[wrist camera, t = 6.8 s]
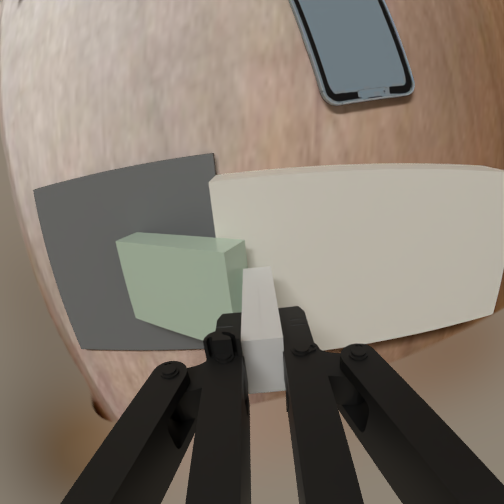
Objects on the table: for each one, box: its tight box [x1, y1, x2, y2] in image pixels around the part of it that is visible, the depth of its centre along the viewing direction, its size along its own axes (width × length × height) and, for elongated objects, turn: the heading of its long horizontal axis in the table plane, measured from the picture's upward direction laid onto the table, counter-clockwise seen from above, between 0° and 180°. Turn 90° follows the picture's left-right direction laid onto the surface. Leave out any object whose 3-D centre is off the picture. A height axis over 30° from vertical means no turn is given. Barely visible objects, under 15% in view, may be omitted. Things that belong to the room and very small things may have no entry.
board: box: [209, 163, 504, 351], centre depth 20 cm, size 22×12×4 cm, turn 96°
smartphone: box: [289, 0, 415, 106], centre depth 16 cm, size 7×1×15 cm
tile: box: [116, 232, 248, 340], centre depth 19 cm, size 9×6×2 cm, turn 96°
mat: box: [33, 153, 216, 350], centre depth 22 cm, size 15×15×1 cm
